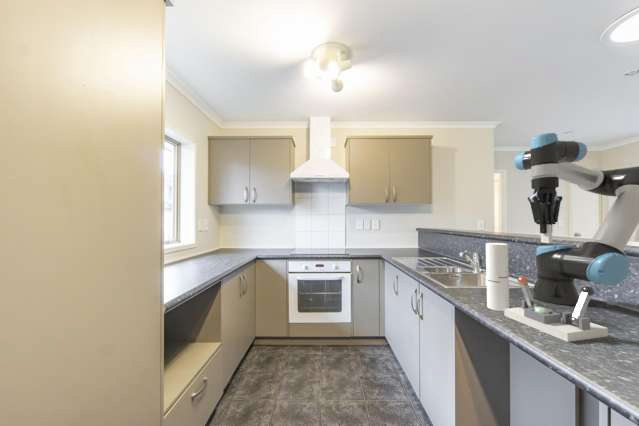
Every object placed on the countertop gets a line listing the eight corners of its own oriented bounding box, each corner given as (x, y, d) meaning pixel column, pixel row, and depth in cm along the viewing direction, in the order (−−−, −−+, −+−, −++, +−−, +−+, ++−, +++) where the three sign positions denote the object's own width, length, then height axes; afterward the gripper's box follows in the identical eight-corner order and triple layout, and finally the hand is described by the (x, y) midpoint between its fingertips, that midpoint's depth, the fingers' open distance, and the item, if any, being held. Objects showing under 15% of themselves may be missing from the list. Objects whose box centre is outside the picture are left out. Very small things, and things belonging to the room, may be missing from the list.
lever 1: (532, 306, 92) (520, 274, 92) (540, 309, 90) (528, 276, 89) (526, 310, 92) (514, 277, 91) (534, 313, 89) (522, 279, 88)
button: (540, 315, 86) (540, 306, 86) (552, 319, 82) (552, 310, 82) (531, 316, 85) (531, 307, 85) (543, 320, 81) (543, 310, 81)
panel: (538, 312, 96) (538, 296, 96) (607, 336, 76) (607, 316, 76) (504, 315, 93) (504, 299, 93) (567, 341, 73) (567, 321, 74)
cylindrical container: (513, 311, 97) (511, 244, 97) (492, 310, 98) (490, 244, 98) (503, 305, 104) (502, 242, 104) (484, 304, 105) (482, 242, 105)
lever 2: (571, 324, 79) (586, 287, 81) (583, 328, 77) (598, 290, 78) (565, 320, 79) (580, 283, 80) (576, 324, 76) (592, 286, 78)
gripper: (547, 179, 99) (549, 241, 99) (519, 178, 96) (521, 242, 96) (570, 176, 92) (572, 242, 91) (540, 175, 89) (542, 244, 89)
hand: (546, 242), depth 94 cm, fingers closed
